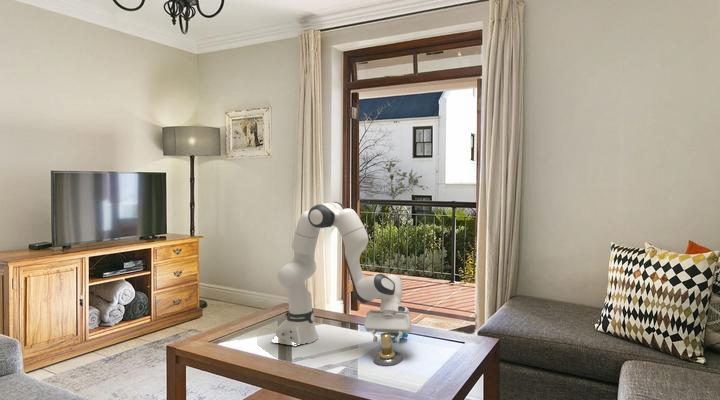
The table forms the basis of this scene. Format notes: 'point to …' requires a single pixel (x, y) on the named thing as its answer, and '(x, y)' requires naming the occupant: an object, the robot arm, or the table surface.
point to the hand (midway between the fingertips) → (385, 341)
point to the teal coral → (398, 334)
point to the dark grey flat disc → (390, 362)
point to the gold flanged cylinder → (386, 347)
